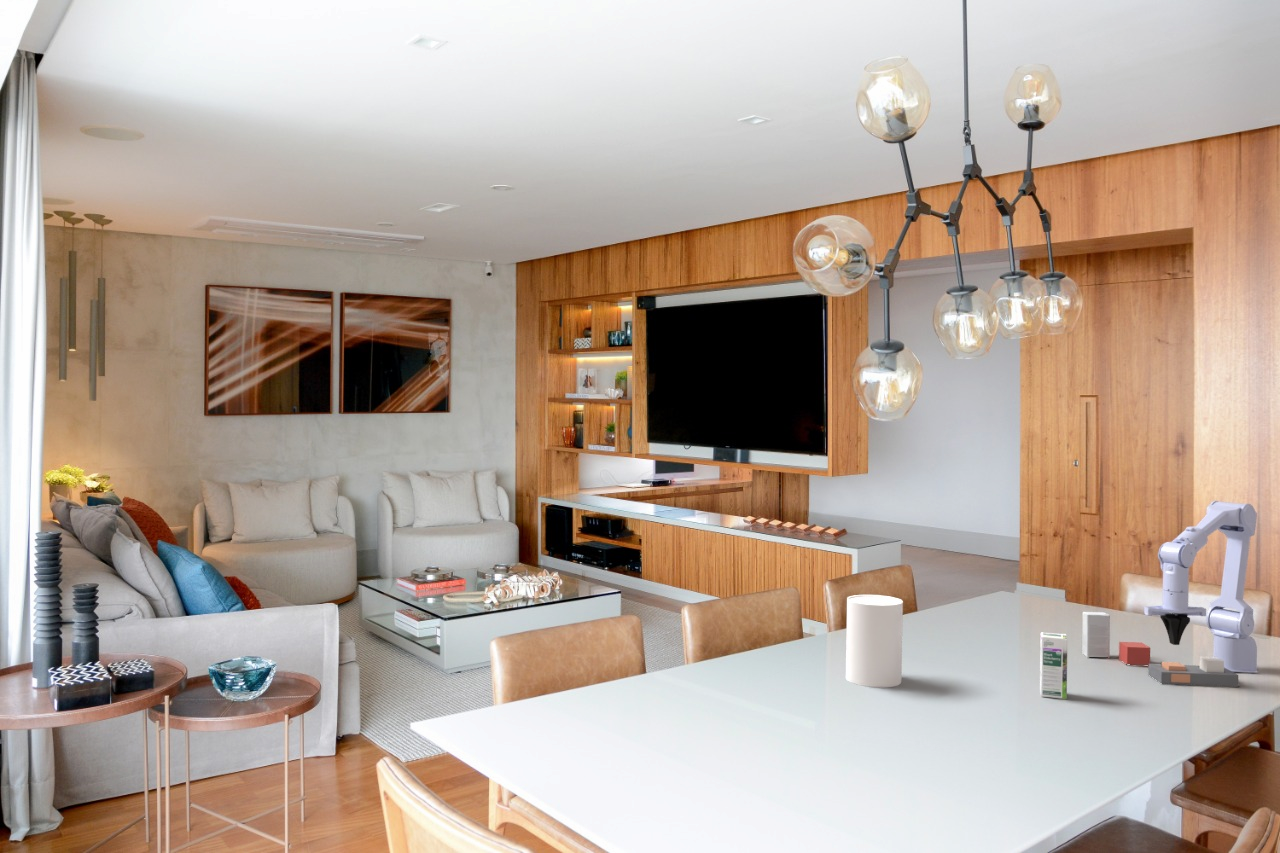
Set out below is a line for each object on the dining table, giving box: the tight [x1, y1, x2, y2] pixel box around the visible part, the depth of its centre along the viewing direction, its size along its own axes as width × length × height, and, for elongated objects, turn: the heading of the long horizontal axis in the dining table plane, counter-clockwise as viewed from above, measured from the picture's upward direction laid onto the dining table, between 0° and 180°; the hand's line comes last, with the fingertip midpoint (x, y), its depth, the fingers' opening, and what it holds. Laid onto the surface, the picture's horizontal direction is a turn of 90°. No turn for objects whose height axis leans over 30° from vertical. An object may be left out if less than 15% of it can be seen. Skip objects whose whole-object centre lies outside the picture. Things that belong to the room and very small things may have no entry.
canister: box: [845, 594, 904, 688], centre depth 244 cm, size 14×14×20 cm
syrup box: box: [1039, 631, 1068, 700], centre depth 232 cm, size 6×6×14 cm
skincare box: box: [1081, 611, 1111, 659], centre depth 269 cm, size 6×4×12 cm
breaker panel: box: [1147, 663, 1239, 688], centre depth 245 cm, size 18×8×3 cm, turn 83°
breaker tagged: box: [1161, 661, 1186, 671], centre depth 246 cm, size 4×4×4 cm
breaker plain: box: [1199, 656, 1224, 673], centre depth 245 cm, size 4×4×4 cm
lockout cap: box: [1118, 641, 1151, 667], centre depth 262 cm, size 6×6×5 cm
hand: (1174, 644), depth 246 cm, fingers closed
